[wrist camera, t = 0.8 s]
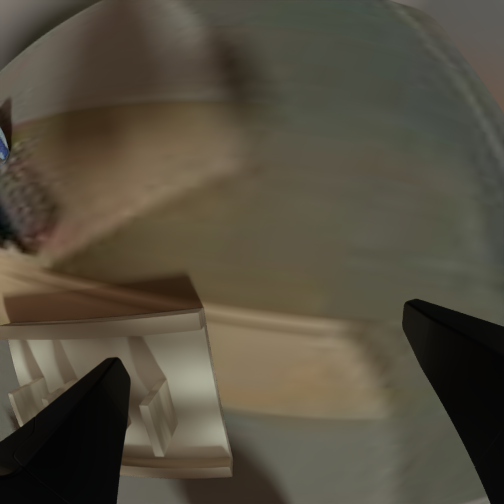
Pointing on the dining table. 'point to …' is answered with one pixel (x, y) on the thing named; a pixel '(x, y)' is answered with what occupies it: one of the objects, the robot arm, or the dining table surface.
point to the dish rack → (134, 385)
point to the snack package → (3, 146)
